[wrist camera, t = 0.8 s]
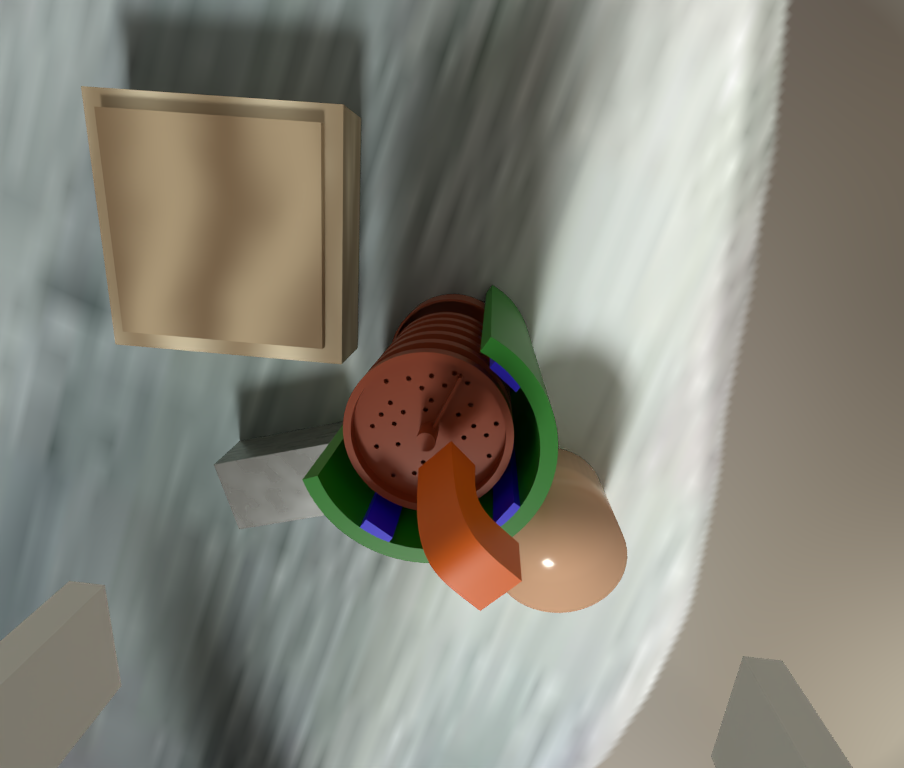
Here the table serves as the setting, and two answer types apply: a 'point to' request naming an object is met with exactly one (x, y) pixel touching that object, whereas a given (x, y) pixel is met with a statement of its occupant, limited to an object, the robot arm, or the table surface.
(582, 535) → the tan rounded cylinder
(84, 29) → the table surface
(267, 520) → the grey stone block
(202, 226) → the plinth
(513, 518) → the motor
